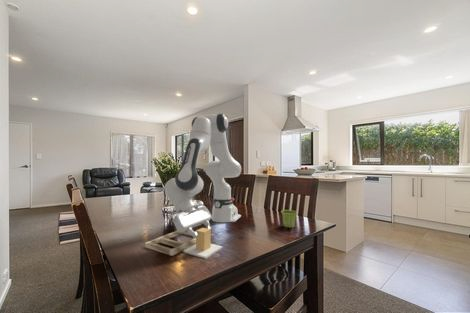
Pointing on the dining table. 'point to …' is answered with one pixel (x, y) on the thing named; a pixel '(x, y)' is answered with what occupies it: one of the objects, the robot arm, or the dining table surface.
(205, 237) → the ochre block
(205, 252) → the white square plate
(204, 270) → the dining table surface
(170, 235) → the puzzle board
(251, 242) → the dining table surface
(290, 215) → the plant pot
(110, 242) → the dining table surface
